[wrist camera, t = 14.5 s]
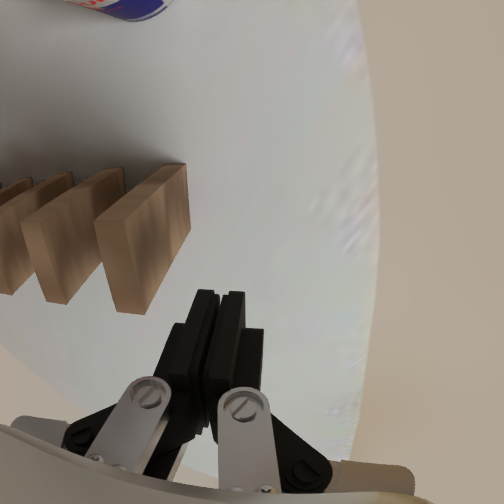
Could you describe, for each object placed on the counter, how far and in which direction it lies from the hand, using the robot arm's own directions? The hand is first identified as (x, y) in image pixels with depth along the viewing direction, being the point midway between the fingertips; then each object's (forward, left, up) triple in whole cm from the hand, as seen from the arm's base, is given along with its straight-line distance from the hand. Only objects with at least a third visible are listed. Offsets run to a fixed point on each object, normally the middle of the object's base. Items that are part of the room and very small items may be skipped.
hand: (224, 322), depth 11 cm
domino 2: (0, -10, -12) cm, 16 cm away
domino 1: (0, -5, -12) cm, 13 cm away
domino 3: (0, -15, -12) cm, 20 cm away
